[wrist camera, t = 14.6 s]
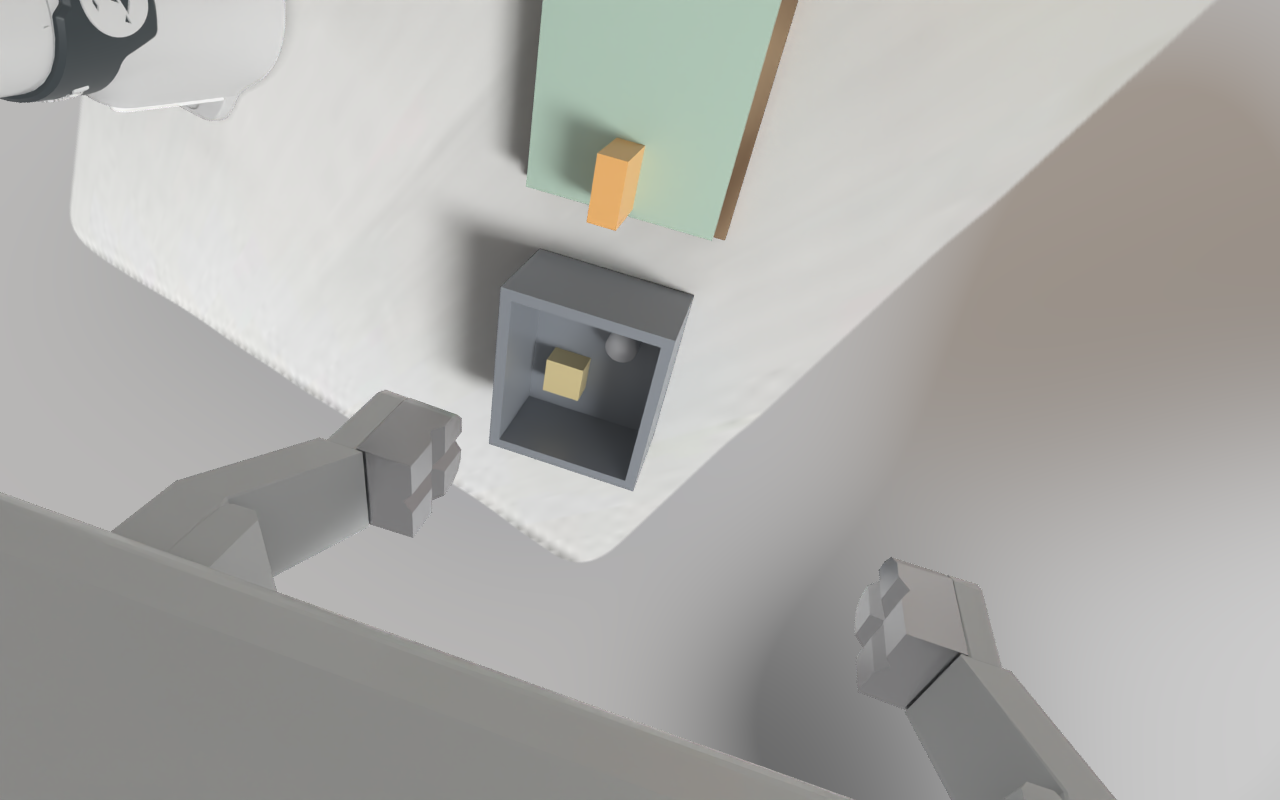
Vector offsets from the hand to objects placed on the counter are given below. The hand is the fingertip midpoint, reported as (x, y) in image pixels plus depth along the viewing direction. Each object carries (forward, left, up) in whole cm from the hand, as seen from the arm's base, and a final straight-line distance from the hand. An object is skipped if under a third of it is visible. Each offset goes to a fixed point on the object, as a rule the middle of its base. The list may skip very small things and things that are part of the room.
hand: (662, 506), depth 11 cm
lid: (-8, +1, -32) cm, 33 cm away
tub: (-8, -19, -33) cm, 39 cm away
